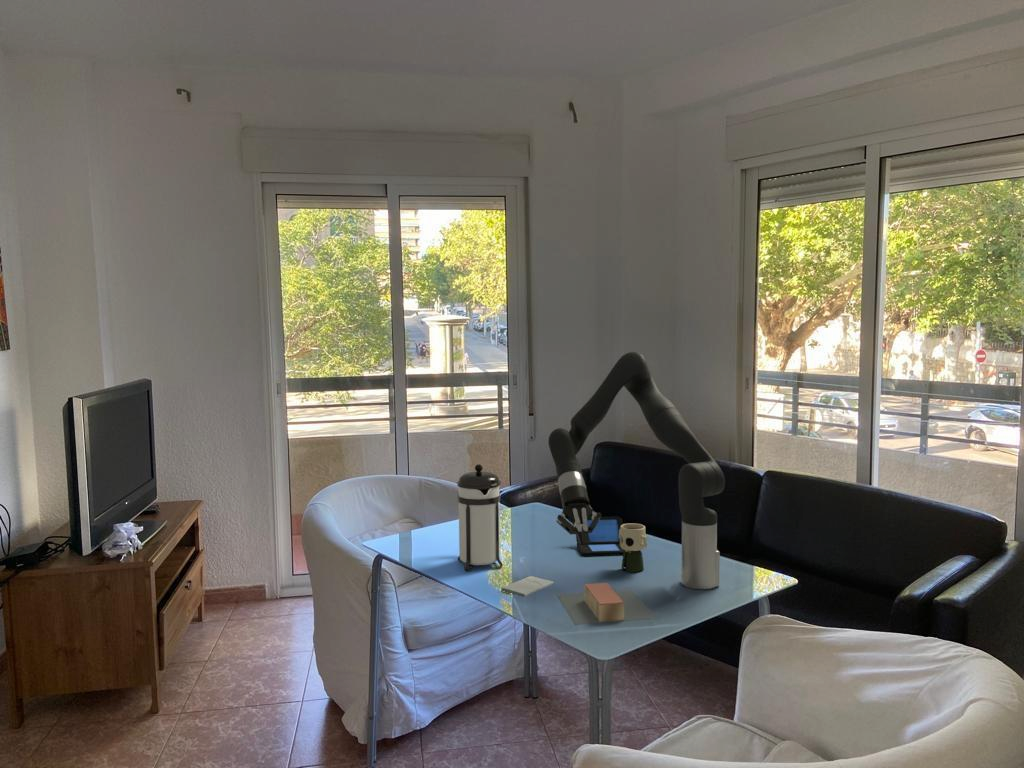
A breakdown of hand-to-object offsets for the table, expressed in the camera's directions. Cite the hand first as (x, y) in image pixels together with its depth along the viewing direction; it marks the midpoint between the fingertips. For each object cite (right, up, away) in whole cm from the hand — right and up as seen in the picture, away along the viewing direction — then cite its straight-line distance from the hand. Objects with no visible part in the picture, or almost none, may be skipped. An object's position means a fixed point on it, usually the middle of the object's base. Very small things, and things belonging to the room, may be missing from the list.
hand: (585, 546), depth 198 cm
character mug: (+15, -10, +15) cm, 23 cm away
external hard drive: (-15, -12, +1) cm, 20 cm away
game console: (+9, -9, +36) cm, 38 cm away
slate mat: (+4, -12, -14) cm, 19 cm away
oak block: (+2, -10, -10) cm, 14 cm away
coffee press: (-30, -10, +22) cm, 39 cm away
